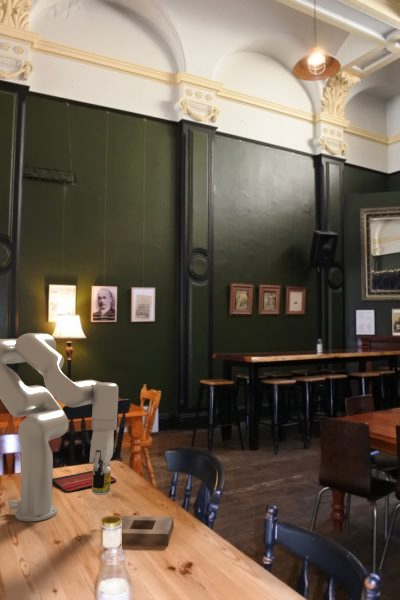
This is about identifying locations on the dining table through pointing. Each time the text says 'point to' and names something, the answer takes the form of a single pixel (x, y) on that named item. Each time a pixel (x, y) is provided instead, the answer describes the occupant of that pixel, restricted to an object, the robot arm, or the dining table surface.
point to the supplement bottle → (106, 481)
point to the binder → (76, 482)
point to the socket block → (146, 530)
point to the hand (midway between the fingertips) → (101, 483)
